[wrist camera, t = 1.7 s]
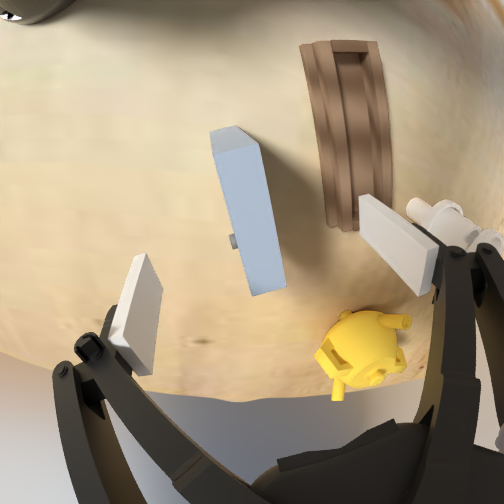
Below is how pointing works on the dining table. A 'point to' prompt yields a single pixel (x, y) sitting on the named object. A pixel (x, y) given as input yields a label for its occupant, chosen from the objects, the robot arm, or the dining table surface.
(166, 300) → the dining table surface
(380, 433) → the robot arm
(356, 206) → the track
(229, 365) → the dining table surface
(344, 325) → the teapot
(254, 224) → the door panel
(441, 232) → the strainer
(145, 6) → the dining table surface
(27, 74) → the dining table surface
